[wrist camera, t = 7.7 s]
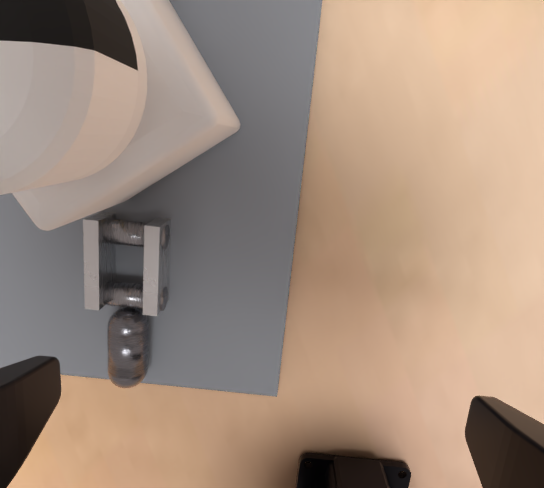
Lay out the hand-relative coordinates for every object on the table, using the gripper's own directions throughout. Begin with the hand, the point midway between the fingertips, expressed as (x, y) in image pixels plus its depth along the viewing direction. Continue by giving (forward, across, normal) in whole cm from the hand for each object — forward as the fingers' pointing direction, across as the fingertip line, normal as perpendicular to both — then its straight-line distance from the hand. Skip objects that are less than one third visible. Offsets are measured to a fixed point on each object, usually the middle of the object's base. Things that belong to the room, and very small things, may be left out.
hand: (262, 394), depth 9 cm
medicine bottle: (+12, +7, -7) cm, 16 cm away
